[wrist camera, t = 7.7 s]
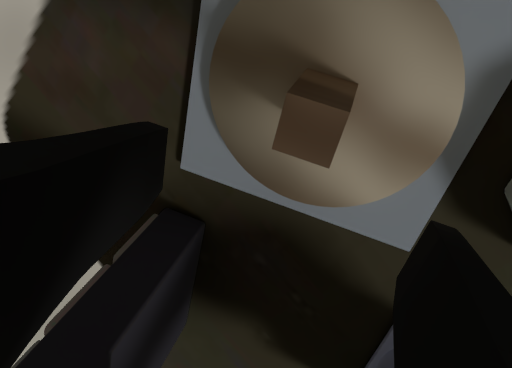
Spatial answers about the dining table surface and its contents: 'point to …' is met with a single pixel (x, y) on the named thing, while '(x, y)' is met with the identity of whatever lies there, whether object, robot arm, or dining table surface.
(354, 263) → the dining table surface
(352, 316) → the dining table surface
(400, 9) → the lid
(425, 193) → the mat
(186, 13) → the dining table surface
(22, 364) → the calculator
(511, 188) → the bowl
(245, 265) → the dining table surface
